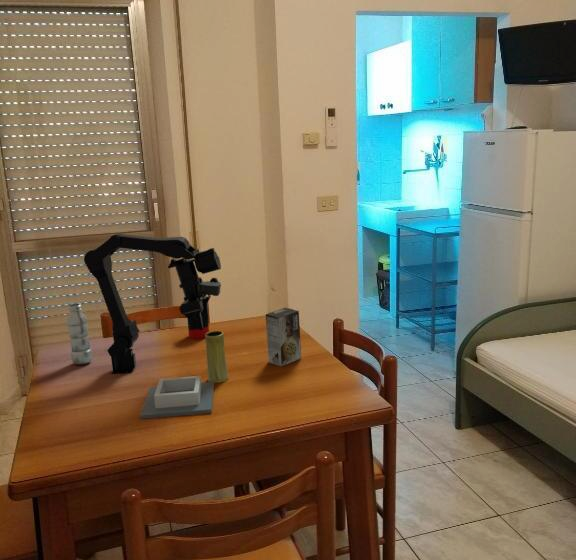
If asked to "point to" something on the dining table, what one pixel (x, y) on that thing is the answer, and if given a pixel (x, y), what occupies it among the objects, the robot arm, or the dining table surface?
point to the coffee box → (283, 336)
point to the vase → (216, 357)
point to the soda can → (197, 330)
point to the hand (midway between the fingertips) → (204, 325)
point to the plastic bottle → (78, 335)
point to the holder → (179, 398)
